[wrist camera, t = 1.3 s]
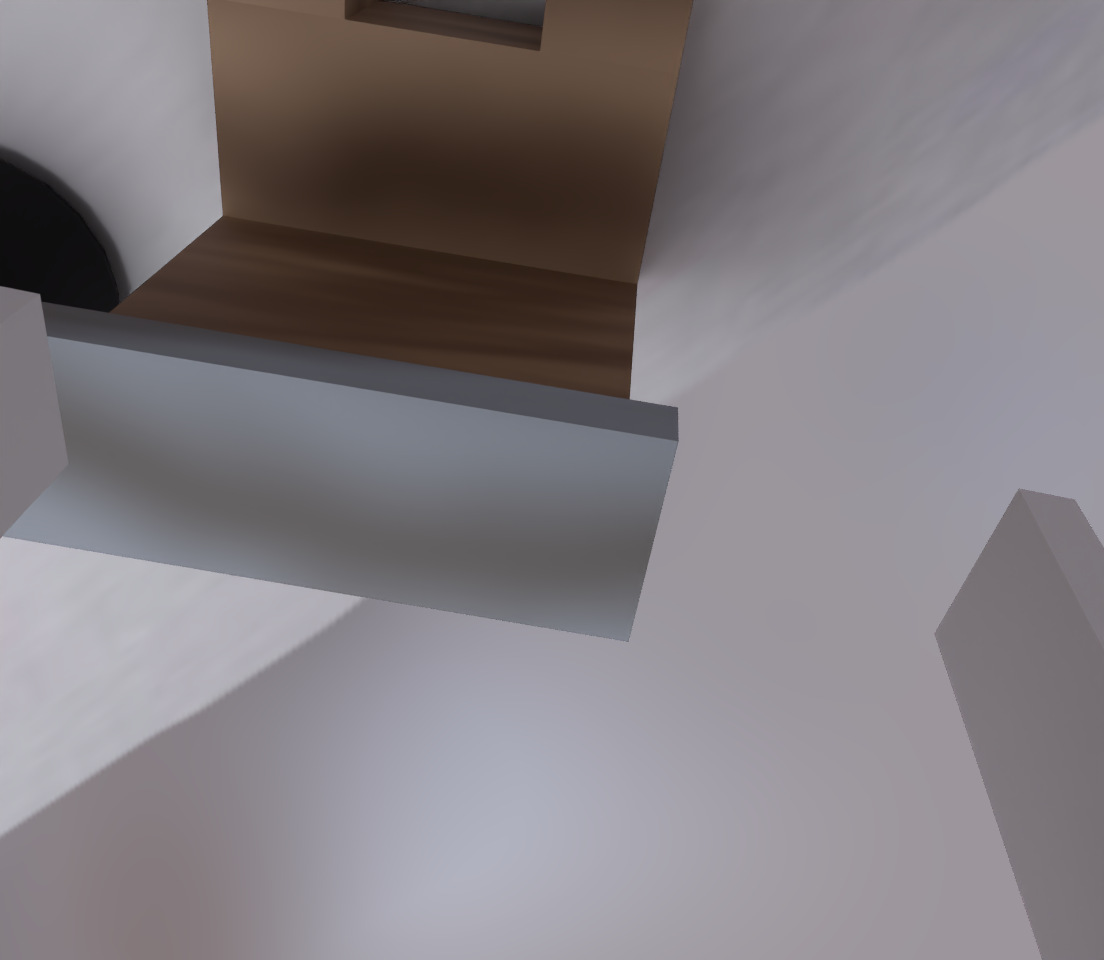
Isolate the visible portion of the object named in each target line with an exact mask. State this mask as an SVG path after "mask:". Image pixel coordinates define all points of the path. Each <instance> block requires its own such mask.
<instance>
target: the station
mask: <svg viewBox="0 0 1104 960" xmlns="http://www.w3.org/2000/svg"><path fill="white" fill-rule="evenodd" d="M692 3H693V0H546V4H545V12H544V21H543V27H541V26H535V25H529V24H522V23H516V22H510V21H504V20H498V19H492V18H486V17H479V16H473V15H467V14H461V13H455V12H449V11H443V10H436V9H430V8H424V7H418V6H412V5H406V4H400V3H393V2H387V1H381V0H207V5H208V19H209V33H210V46H211V60H212V73H213V87H214V100H215V114H216V127H217V141H218V154H219V168H220V182H221V195H222V209H223V216H222V217H221V218H220V219H219V220H218V221H216V222H215V223H214V224H213V225H212V226H211V227H209V228H208V229H207V230H206V231H205V232H204V233H202V234H201V235H200V236H199V237H198V238H196V239H195V240H194V241H193V242H192V243H191V244H189V245H188V246H187V247H186V248H185V249H183V250H182V251H181V252H180V253H179V254H178V255H176V256H175V257H174V258H173V259H172V260H171V261H169V262H168V263H167V264H166V265H165V266H163V267H162V268H161V269H160V270H159V271H158V272H156V273H155V274H154V275H153V276H152V277H151V278H149V279H148V280H147V281H146V282H145V283H143V284H142V285H141V286H140V287H139V288H138V289H136V290H135V291H134V292H133V293H132V294H130V295H129V296H128V297H127V298H126V299H125V300H123V301H122V302H121V303H120V304H119V305H118V306H116V307H115V308H114V309H113V310H112V311H110V312H109V313H106V312H100V311H94V310H88V309H82V308H76V307H70V306H64V305H58V304H52V303H46V302H41V303H42V309H43V315H44V321H45V327H46V333H47V339H48V345H49V351H50V357H51V363H52V369H53V375H54V381H55V387H56V393H57V399H58V404H59V410H60V416H61V422H62V428H63V434H64V440H65V446H66V452H67V458H68V465H67V467H66V468H65V469H64V470H63V471H62V472H61V473H60V474H59V475H58V476H57V477H56V478H55V480H54V481H53V482H52V483H51V484H50V485H49V486H48V487H47V488H46V489H45V490H44V491H43V492H42V494H41V495H40V496H39V497H38V498H37V499H36V500H35V501H34V502H33V503H32V504H31V505H30V507H29V508H28V509H27V510H26V511H25V512H24V513H23V514H22V515H21V516H20V517H19V518H18V520H17V521H16V522H15V523H14V524H13V525H12V526H11V527H10V528H9V529H8V530H7V531H6V533H5V534H4V535H3V536H4V537H10V538H16V539H22V540H27V541H33V542H39V543H45V544H51V545H57V546H63V547H69V548H75V549H81V550H87V551H93V552H99V553H105V554H111V555H116V556H122V557H128V558H134V559H140V560H146V561H152V562H158V563H164V564H170V565H176V566H182V567H188V568H194V569H199V570H205V571H211V572H217V573H223V574H229V575H235V576H241V577H247V578H253V579H259V580H265V581H271V582H277V583H283V584H288V585H294V586H300V587H306V588H312V589H318V590H324V591H330V592H336V593H342V594H348V595H354V596H360V597H366V598H372V599H377V600H383V601H389V602H395V603H401V604H408V605H413V606H419V607H425V608H431V609H437V610H443V611H449V612H455V613H460V614H466V615H473V616H479V617H485V618H490V619H496V620H502V621H508V622H514V623H520V624H526V625H532V626H538V627H544V628H549V629H555V630H561V631H567V632H574V633H579V634H585V635H591V636H597V637H603V638H609V639H615V640H621V641H627V642H628V641H629V638H630V634H631V630H632V626H633V621H634V618H635V614H636V610H637V605H638V601H639V598H640V593H641V590H642V585H643V581H644V578H645V574H646V569H647V565H648V561H649V557H650V553H651V549H652V545H653V541H654V537H655V533H656V529H657V525H658V521H659V517H660V513H661V509H662V505H663V501H664V497H665V493H666V489H667V485H668V481H669V477H670V473H671V469H672V465H673V461H674V457H675V453H676V449H677V445H678V408H677V407H671V406H665V405H659V404H653V403H647V402H641V401H635V400H630V385H631V370H632V355H633V341H634V326H635V311H636V296H637V283H638V278H639V273H640V268H641V263H642V258H643V253H644V248H645V243H646V238H647V233H648V227H649V222H650V217H651V212H652V207H653V202H654V197H655V192H656V187H657V182H658V177H659V171H660V166H661V161H662V156H663V151H664V146H665V141H666V136H667V131H668V126H669V121H670V115H671V110H672V105H673V100H674V95H675V90H676V85H677V80H678V75H679V70H680V65H681V59H682V54H683V49H684V44H685V39H686V34H687V29H688V24H689V19H690V14H691V9H692Z"/></svg>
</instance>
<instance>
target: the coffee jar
mask: <svg viewBox="0 0 1104 960" xmlns="http://www.w3.org/2000/svg"><path fill="white" fill-rule="evenodd" d="M0 286H2V287H7V288H12V289H17V290H22V291H27V292H32V293H37V294H40V298H41V302H46V303H52V304H58V305H64V306H70V307H76V308H82V309H88V310H94V311H100V312H106V313H109V312H110V311H112V310H113V309H114V308H115V307H116V306H118V305H119V294H118V291H117V285H116V282H115V279H114V277H113V274H112V271H111V268H110V265H109V263H108V260H107V257H106V254H105V251H104V249H103V248H102V246H101V245H100V243H99V242H98V240H97V239H96V237H95V236H94V234H93V233H92V231H91V230H90V229H89V227H88V226H87V224H86V223H85V221H84V220H83V218H82V217H81V215H80V214H79V213H78V212H76V211H75V210H74V209H73V208H72V207H71V206H70V205H69V204H68V203H67V202H66V201H65V200H63V199H62V198H61V197H60V196H59V195H58V194H57V193H56V192H55V191H54V190H53V189H52V188H50V187H49V186H48V185H47V184H45V183H43V182H42V181H40V180H38V179H36V178H35V177H33V176H31V175H29V174H28V173H26V172H24V171H22V170H20V169H19V168H17V167H15V166H13V165H12V164H10V163H7V162H5V161H4V160H2V159H0Z"/></svg>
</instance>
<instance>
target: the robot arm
mask: <svg viewBox="0 0 1104 960" xmlns="http://www.w3.org/2000/svg"><path fill="white" fill-rule="evenodd" d="M67 465H68V458H67V452H66V446H65V440H64V434H63V428H62V422H61V416H60V410H59V404H58V399H57V393H56V387H55V381H54V375H53V369H52V363H51V357H50V351H49V345H48V339H47V333H46V327H45V321H44V315H43V309H42V303H41V298H40V294H37V293H32V292H27V291H22V290H17V289H12V288H7V287H2V286H0V538H1V537H2V536H3V535H4V534H5V533H6V531H7V530H8V529H9V528H10V527H11V526H12V525H13V524H14V523H15V522H16V521H17V520H18V518H19V517H20V516H21V515H22V514H23V513H24V512H25V511H26V510H27V509H28V508H29V507H30V505H31V504H32V503H33V502H34V501H35V500H36V499H37V498H38V497H39V496H40V495H41V494H42V492H43V491H44V490H45V489H46V488H47V487H48V486H49V485H50V484H51V483H52V482H53V481H54V480H55V478H56V477H57V476H58V475H59V474H60V473H61V472H62V471H63V470H64V469H65V468H66V467H67ZM935 636H936V640H937V642H938V645H939V648H940V652H941V655H942V658H943V661H944V664H945V667H946V670H947V673H948V676H949V679H950V682H951V685H952V688H953V691H954V694H955V697H956V700H957V703H958V706H959V709H960V712H961V715H962V718H963V721H964V724H965V727H966V730H967V733H968V736H969V740H970V743H971V746H972V749H973V751H974V755H975V758H976V761H977V764H978V767H979V769H980V773H981V776H982V779H983V782H984V785H985V788H986V791H987V794H988V797H989V800H990V803H991V806H992V809H993V812H994V815H995V818H996V821H997V824H998V827H999V830H1000V833H1001V836H1002V839H1003V842H1004V846H1005V848H1006V852H1007V854H1008V858H1009V861H1010V864H1011V867H1012V870H1013V873H1014V876H1015V879H1016V882H1017V885H1018V888H1019V891H1020V894H1021V897H1022V900H1023V903H1024V906H1025V909H1026V912H1027V915H1028V918H1029V921H1030V924H1031V927H1032V930H1033V933H1034V936H1035V939H1036V942H1037V945H1038V949H1039V952H1040V954H1041V957H1042V960H1104V547H1103V546H1102V544H1101V542H1100V541H1099V539H1098V537H1097V536H1096V534H1095V533H1094V531H1093V529H1092V527H1091V526H1090V524H1089V523H1088V521H1087V519H1086V517H1085V516H1084V514H1083V512H1082V511H1081V509H1080V507H1079V506H1078V504H1077V502H1076V501H1075V500H1074V499H1069V498H1064V497H1059V496H1054V495H1048V494H1044V493H1039V492H1034V491H1029V490H1023V489H1018V491H1017V493H1016V494H1015V496H1014V498H1013V500H1012V501H1011V503H1010V505H1009V506H1008V508H1007V510H1006V512H1005V513H1004V515H1003V517H1002V518H1001V520H1000V522H999V524H998V525H997V527H996V529H995V530H994V532H993V534H992V536H991V537H990V539H989V541H988V543H987V544H986V546H985V548H984V549H983V551H982V553H981V555H980V556H979V558H978V560H977V561H976V563H975V565H974V567H973V568H972V570H971V572H970V573H969V575H968V577H967V579H966V581H965V582H964V584H963V585H962V587H961V589H960V591H959V593H958V594H957V596H956V597H955V599H954V601H953V603H952V604H951V606H950V608H949V609H948V611H947V613H946V615H945V616H944V618H943V620H942V621H941V623H940V625H939V627H938V628H937V630H936V632H935Z"/></svg>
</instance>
